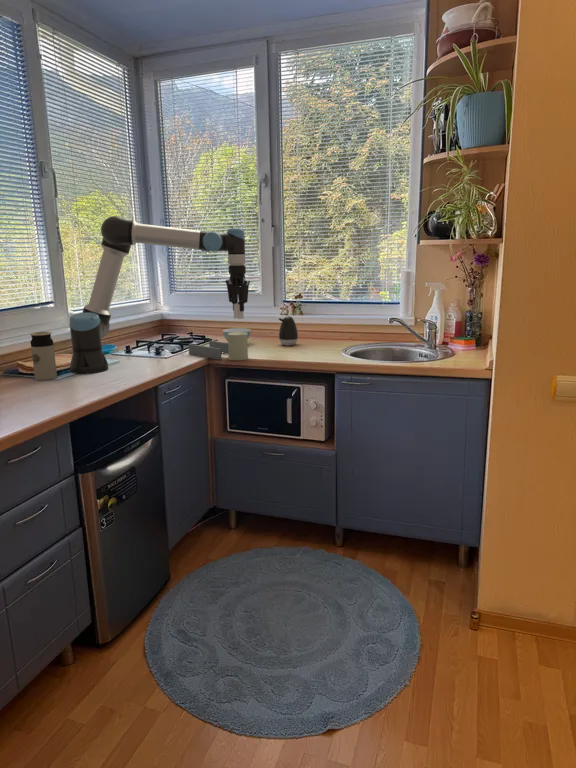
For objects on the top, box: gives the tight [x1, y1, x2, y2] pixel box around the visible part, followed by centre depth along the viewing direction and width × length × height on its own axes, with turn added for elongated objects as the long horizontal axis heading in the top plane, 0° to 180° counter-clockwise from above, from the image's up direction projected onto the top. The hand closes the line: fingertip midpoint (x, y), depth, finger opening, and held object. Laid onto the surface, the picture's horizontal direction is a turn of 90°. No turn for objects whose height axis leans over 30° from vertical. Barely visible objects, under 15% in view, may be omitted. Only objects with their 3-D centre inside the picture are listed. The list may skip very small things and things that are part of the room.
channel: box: [188, 340, 228, 361], centre depth 256 cm, size 14×22×5 cm, turn 49°
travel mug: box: [30, 331, 58, 381], centre depth 209 cm, size 8×8×18 cm
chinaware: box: [222, 327, 252, 342], centre depth 285 cm, size 15×15×8 cm
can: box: [227, 332, 249, 361], centre depth 246 cm, size 9×9×12 cm
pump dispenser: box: [278, 315, 299, 347], centre depth 281 cm, size 10×10×15 cm
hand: (238, 318), depth 242 cm, fingers open, 2 cm apart
